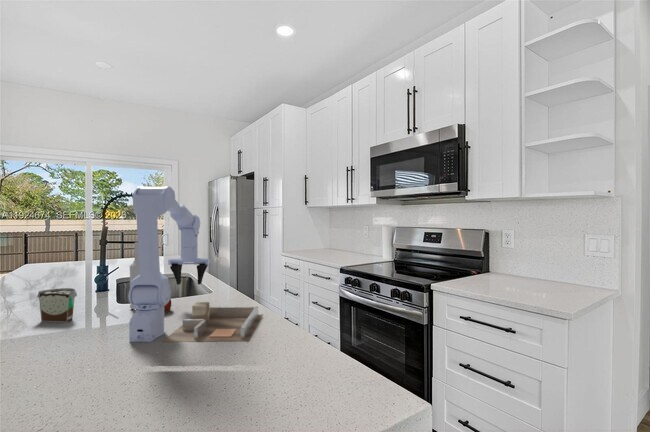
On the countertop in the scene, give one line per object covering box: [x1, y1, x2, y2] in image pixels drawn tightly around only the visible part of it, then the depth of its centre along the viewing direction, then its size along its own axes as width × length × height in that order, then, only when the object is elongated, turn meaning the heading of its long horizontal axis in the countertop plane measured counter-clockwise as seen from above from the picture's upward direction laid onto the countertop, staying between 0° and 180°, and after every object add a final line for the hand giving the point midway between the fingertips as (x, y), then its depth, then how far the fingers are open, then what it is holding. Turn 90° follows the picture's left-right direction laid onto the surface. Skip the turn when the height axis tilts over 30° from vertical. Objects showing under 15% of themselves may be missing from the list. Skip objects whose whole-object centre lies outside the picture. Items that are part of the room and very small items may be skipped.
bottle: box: [129, 242, 140, 310], centre depth 125 cm, size 5×5×25 cm
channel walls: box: [182, 306, 259, 339], centre depth 102 cm, size 21×20×3 cm
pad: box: [210, 329, 236, 337], centre depth 96 cm, size 6×6×1 cm
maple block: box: [191, 301, 210, 322], centre depth 106 cm, size 4×4×6 cm
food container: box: [36, 287, 78, 323], centre depth 113 cm, size 12×6×10 cm, turn 84°
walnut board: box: [161, 314, 264, 343], centre depth 102 cm, size 24×24×1 cm
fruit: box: [164, 298, 172, 315], centre depth 117 cm, size 8×8×8 cm
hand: (189, 284), depth 122 cm, fingers open, 7 cm apart
